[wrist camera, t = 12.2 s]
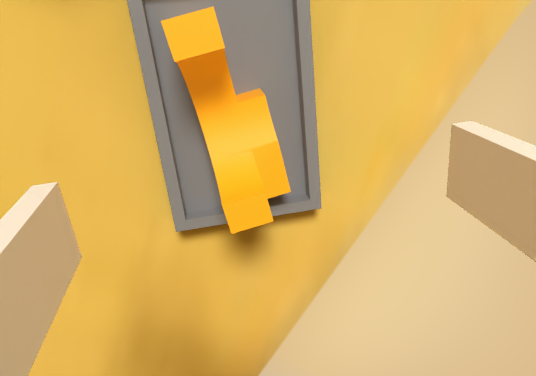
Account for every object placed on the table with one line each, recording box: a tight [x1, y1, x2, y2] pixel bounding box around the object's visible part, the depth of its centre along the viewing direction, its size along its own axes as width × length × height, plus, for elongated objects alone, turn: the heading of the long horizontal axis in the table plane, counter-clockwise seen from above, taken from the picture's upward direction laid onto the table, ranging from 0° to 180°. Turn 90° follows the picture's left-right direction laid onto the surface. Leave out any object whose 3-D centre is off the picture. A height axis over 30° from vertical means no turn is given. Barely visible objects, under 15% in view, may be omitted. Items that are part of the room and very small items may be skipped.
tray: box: [127, 0, 321, 232], centre depth 28 cm, size 17×11×2 cm, turn 5°
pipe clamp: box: [161, 6, 291, 234], centre depth 26 cm, size 12×4×6 cm, turn 14°
